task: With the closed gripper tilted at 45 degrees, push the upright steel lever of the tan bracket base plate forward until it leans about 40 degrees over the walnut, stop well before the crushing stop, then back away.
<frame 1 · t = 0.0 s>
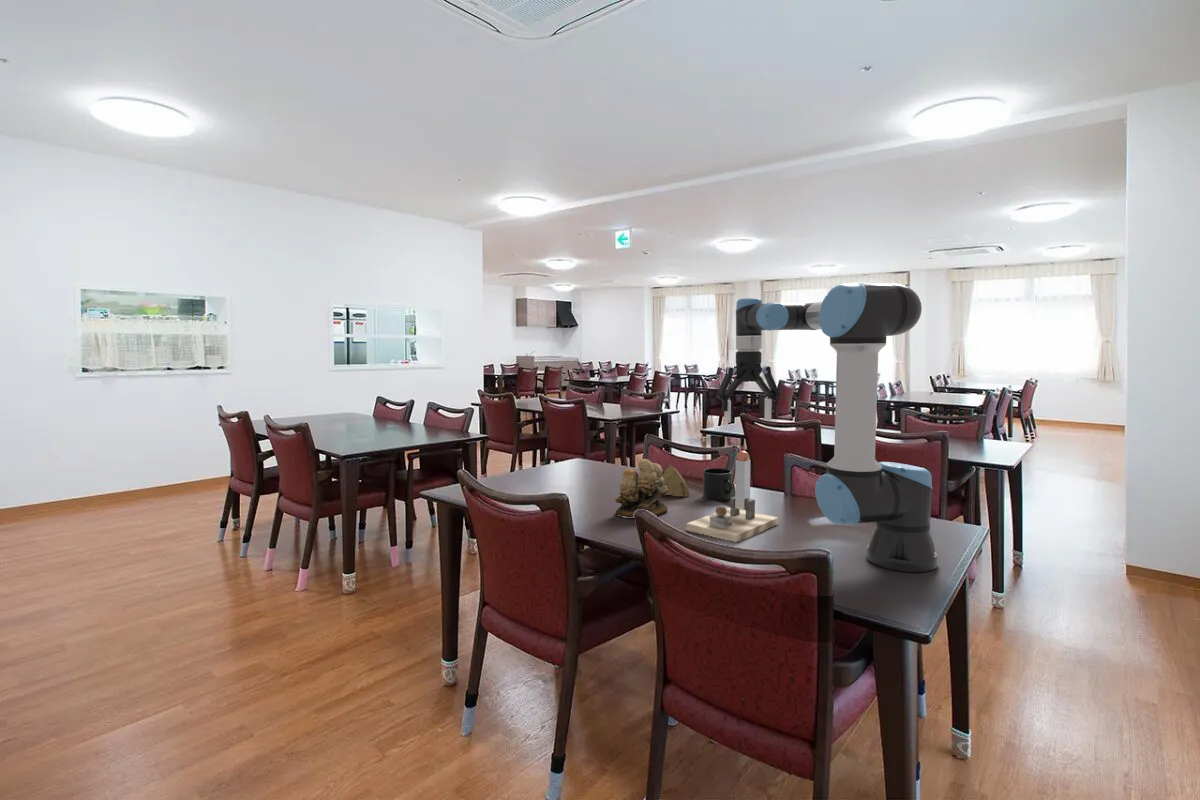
hand: (747, 421, 187), 28 cm above the table, tool pointing down, fingers open, 13 cm apart
tan bracket base plate: (732, 527, 174), on the table
lever: (742, 479, 177), point 13 cm above the table, hinge at 0.0°
rock: (673, 495, 211), on the table
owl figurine: (642, 513, 190), on the table
mug: (719, 499, 206), on the table
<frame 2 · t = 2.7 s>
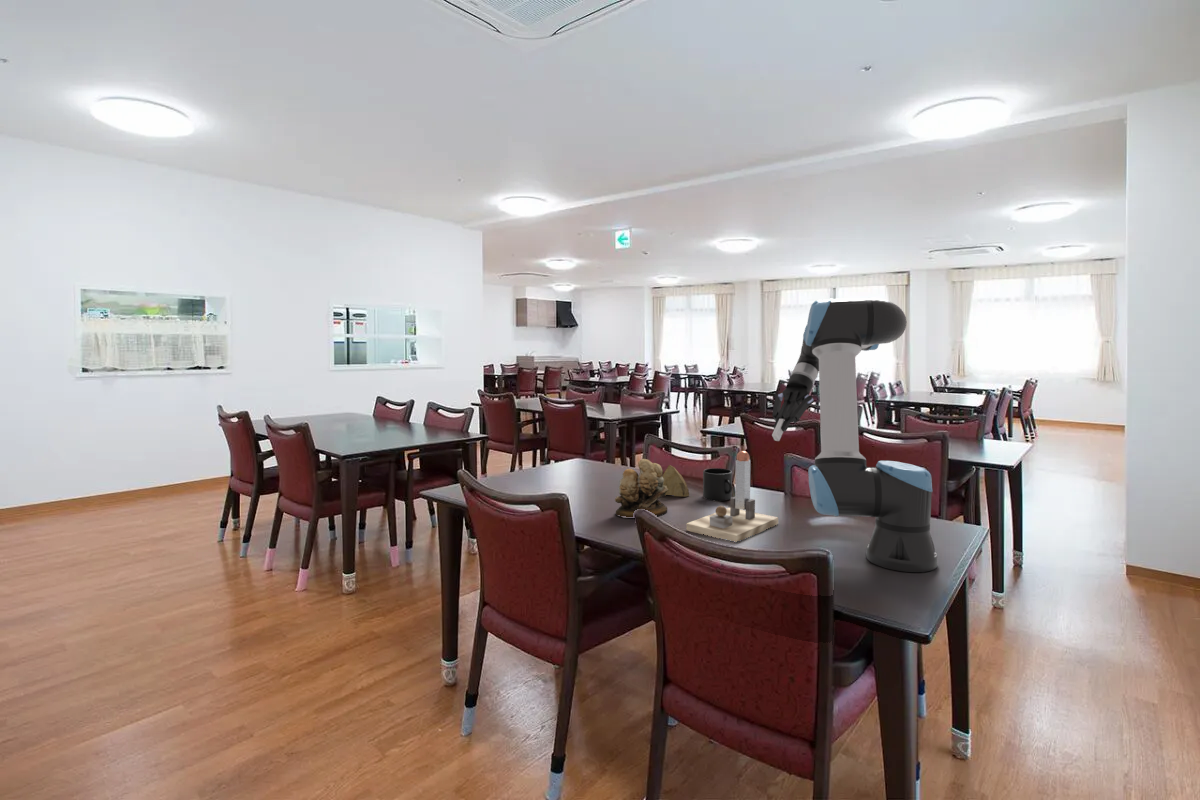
hand: (775, 438, 189), 23 cm above the table, tool tilted 45°, fingers closed
nothing on the table moved.
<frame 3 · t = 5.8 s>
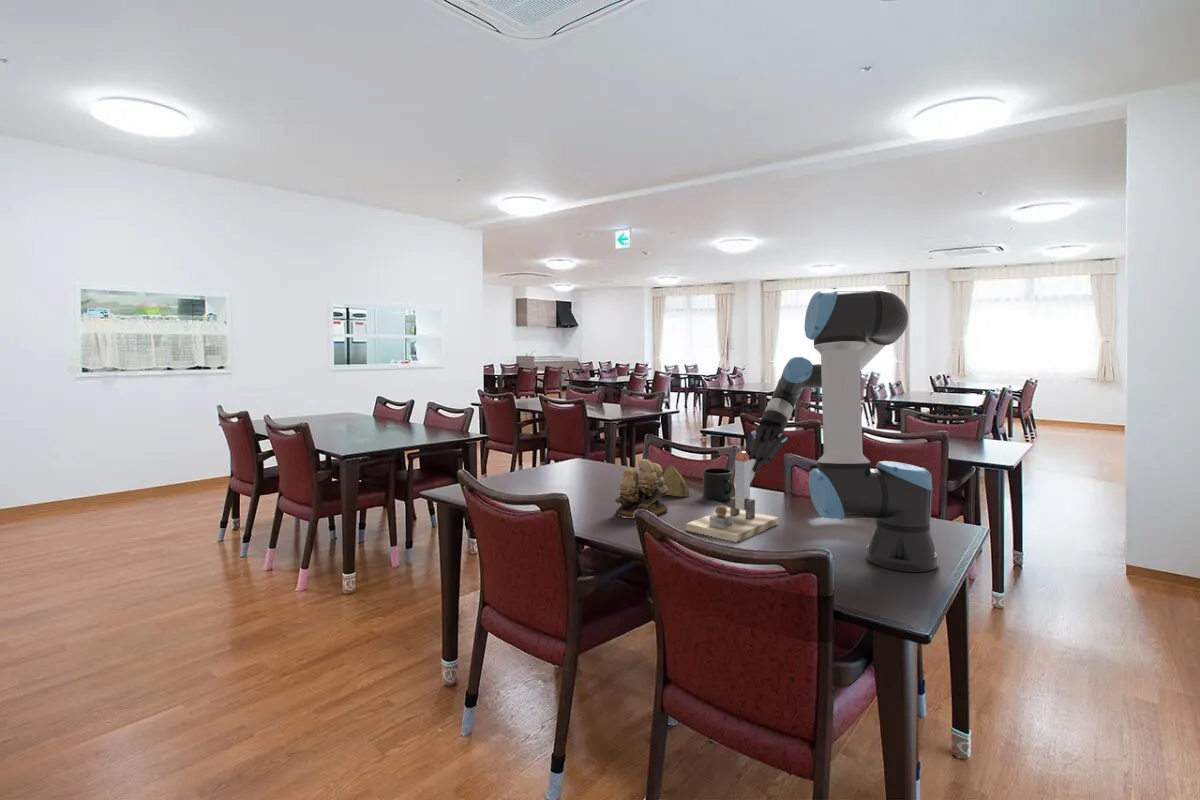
hand: (746, 479, 179), 12 cm above the table, tool tilted 45°, fingers closed
lever: (742, 479, 176), point 13 cm above the table, hinge at 1.1°, touching gripper
everything else where it was.
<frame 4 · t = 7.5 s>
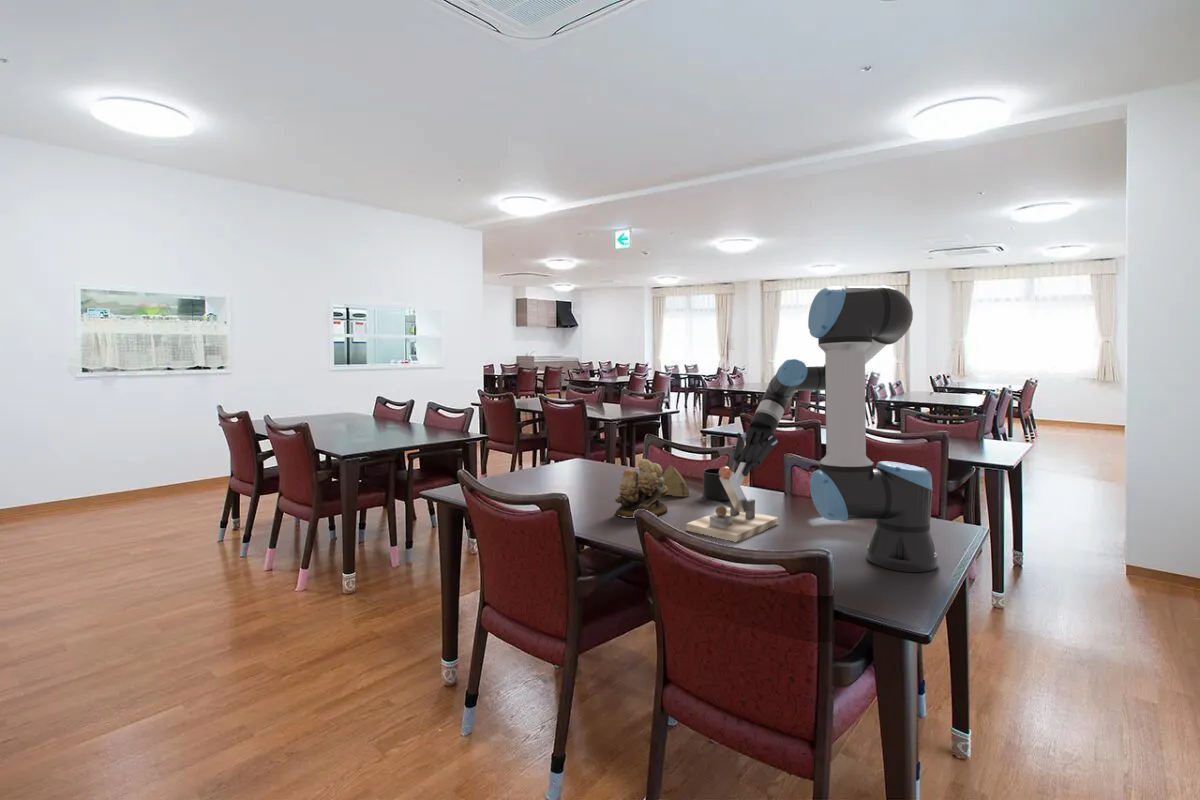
hand: (735, 483, 174), 12 cm above the table, tool tilted 45°, fingers closed
lever: (733, 488, 173), point 11 cm above the table, hinge at 37.6°, touching gripper
everything else where it was.
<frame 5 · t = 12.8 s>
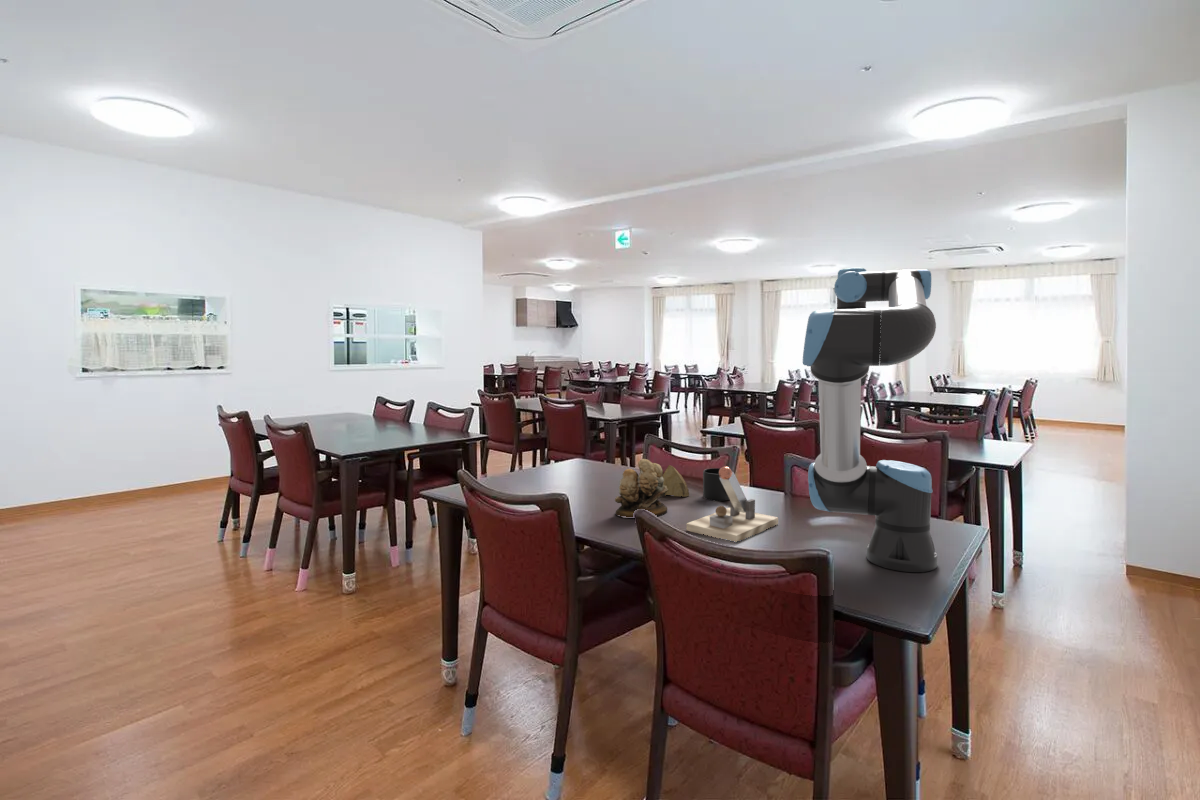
hand: (848, 411, 172), 32 cm above the table, tool pointing down, fingers closed
lever: (733, 488, 173), point 11 cm above the table, hinge at 37.7°
everything else where it was.
at the end: lever at +38° (first picture: +0°); mug moved 0.2 cm from its start; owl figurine moved 0.3 cm from its start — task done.
